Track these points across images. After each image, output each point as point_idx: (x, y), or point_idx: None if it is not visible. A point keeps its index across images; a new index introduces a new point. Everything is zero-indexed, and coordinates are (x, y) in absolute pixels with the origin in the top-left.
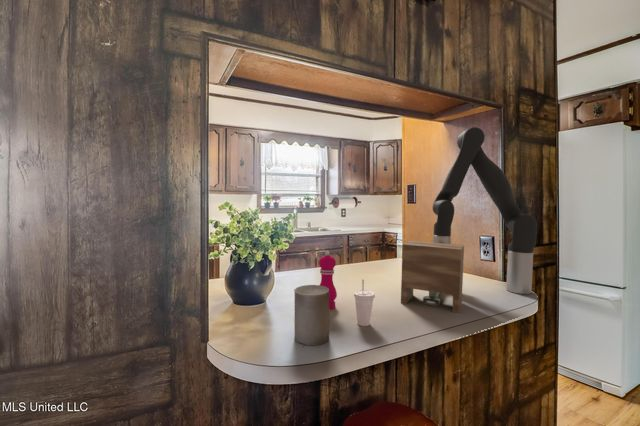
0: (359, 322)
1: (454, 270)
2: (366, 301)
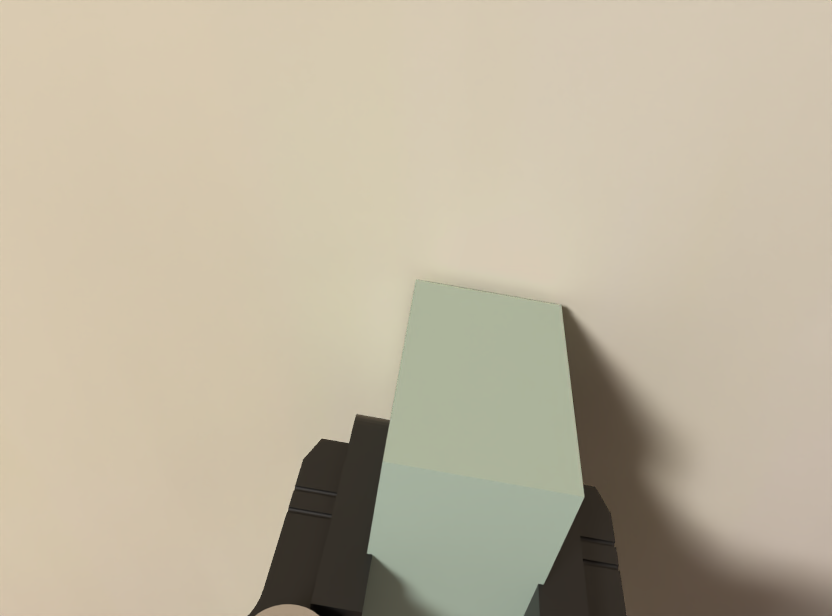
0: None
1: None
2: None
